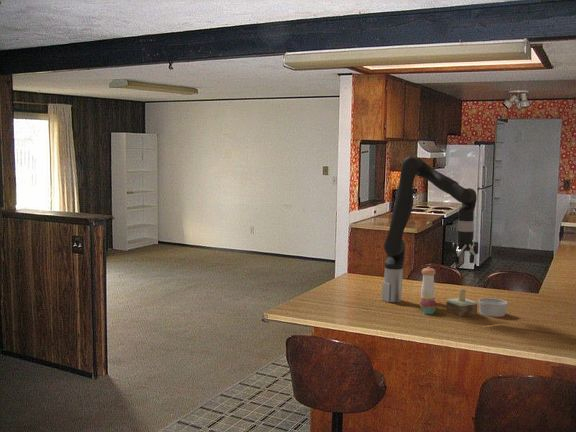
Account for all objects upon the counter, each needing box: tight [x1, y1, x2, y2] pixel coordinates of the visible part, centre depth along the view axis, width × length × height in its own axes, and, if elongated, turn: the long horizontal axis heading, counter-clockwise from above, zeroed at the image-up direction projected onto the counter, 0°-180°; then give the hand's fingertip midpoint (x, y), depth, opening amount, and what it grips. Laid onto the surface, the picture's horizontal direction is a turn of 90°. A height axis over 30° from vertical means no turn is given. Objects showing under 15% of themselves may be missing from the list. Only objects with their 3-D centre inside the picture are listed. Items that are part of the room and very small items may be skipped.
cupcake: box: [419, 291, 439, 315], centre depth 291 cm, size 9×8×12 cm
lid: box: [446, 288, 478, 306], centre depth 290 cm, size 10×10×6 cm
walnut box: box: [445, 301, 478, 318], centre depth 291 cm, size 10×10×6 cm
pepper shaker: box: [419, 266, 437, 304], centre depth 311 cm, size 7×7×19 cm
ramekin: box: [478, 297, 509, 318], centre depth 292 cm, size 13×13×7 cm
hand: (464, 263), depth 294 cm, fingers open, 8 cm apart
